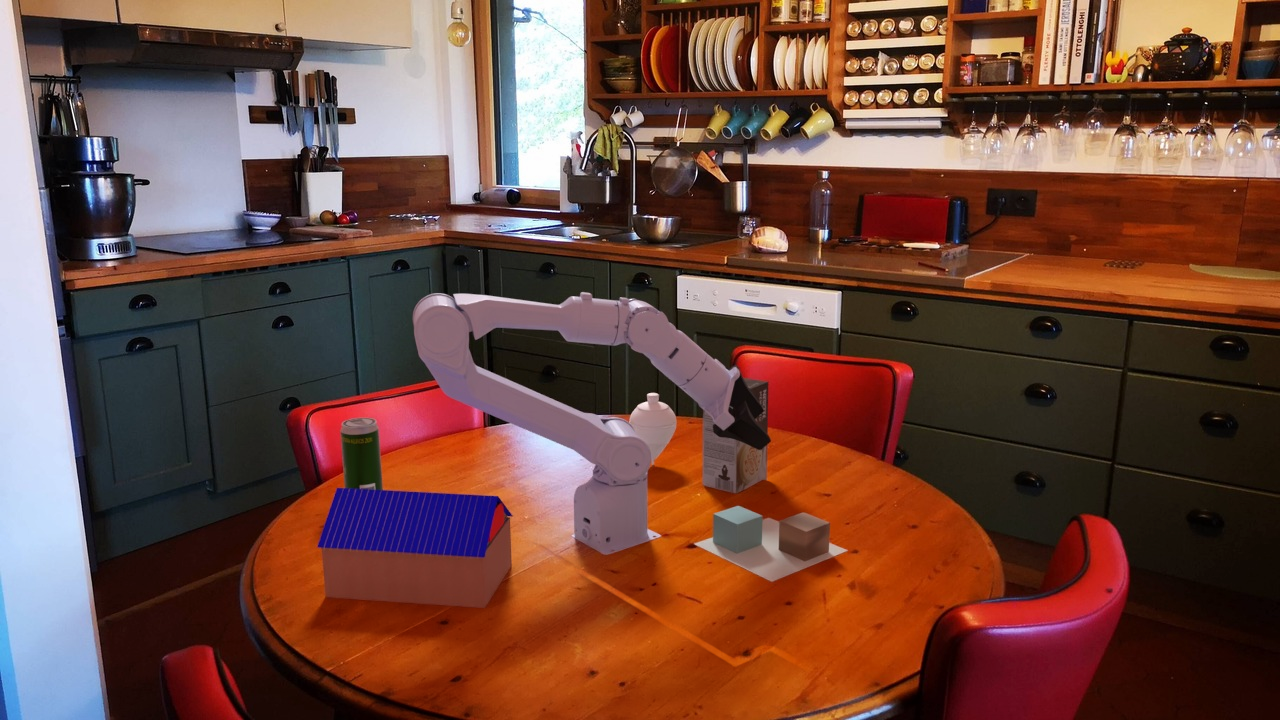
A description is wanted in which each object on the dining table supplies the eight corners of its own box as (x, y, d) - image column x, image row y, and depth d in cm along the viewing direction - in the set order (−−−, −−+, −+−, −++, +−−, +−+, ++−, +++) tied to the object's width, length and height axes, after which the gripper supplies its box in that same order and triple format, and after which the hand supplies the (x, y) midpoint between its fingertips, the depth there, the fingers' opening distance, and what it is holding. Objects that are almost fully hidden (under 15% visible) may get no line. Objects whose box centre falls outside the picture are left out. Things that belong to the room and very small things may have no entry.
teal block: (736, 553, 123) (737, 524, 122) (712, 542, 127) (713, 513, 126) (761, 544, 126) (762, 515, 125) (737, 533, 129) (738, 505, 128)
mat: (771, 586, 116) (771, 581, 116) (693, 548, 126) (693, 543, 126) (847, 554, 124) (847, 550, 124) (768, 521, 135) (768, 517, 135)
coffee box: (732, 472, 154) (734, 374, 151) (767, 480, 151) (770, 381, 147) (700, 488, 147) (701, 387, 144) (736, 498, 144) (738, 393, 140)
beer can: (389, 500, 143) (384, 423, 140) (354, 509, 140) (348, 430, 137) (374, 490, 147) (368, 415, 144) (340, 499, 144) (333, 421, 141)
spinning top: (622, 461, 160) (621, 391, 157) (663, 454, 163) (663, 385, 160) (641, 475, 153) (641, 402, 150) (684, 468, 156) (685, 396, 153)
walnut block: (804, 561, 121) (806, 531, 120) (778, 549, 124) (779, 520, 123) (828, 551, 124) (830, 522, 123) (802, 540, 127) (803, 512, 126)
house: (364, 556, 125) (358, 470, 122) (515, 565, 122) (511, 478, 119) (321, 599, 113) (313, 506, 110) (486, 611, 110) (482, 515, 108)
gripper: (717, 375, 119) (791, 440, 123) (709, 324, 132) (776, 384, 136) (676, 411, 121) (751, 473, 126) (672, 357, 134) (740, 415, 138)
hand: (761, 429), depth 131 cm, fingers open, 7 cm apart
